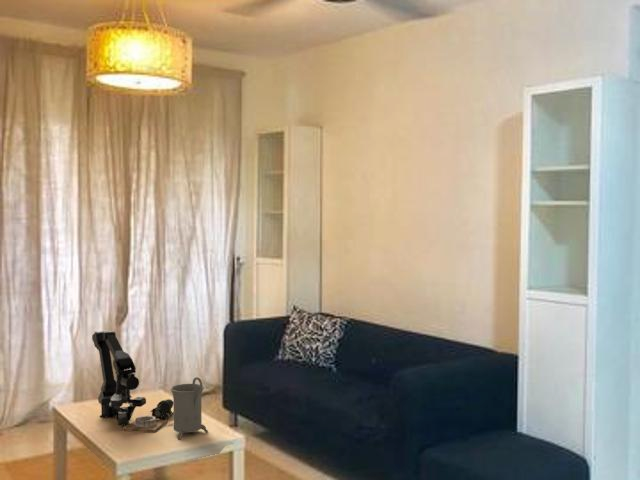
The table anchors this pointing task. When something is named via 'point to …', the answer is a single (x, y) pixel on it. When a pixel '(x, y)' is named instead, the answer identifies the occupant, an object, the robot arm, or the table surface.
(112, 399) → the robot arm
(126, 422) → the lens
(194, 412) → the grey footed pail
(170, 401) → the night vision scope
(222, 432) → the table surface
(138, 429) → the mount plate
